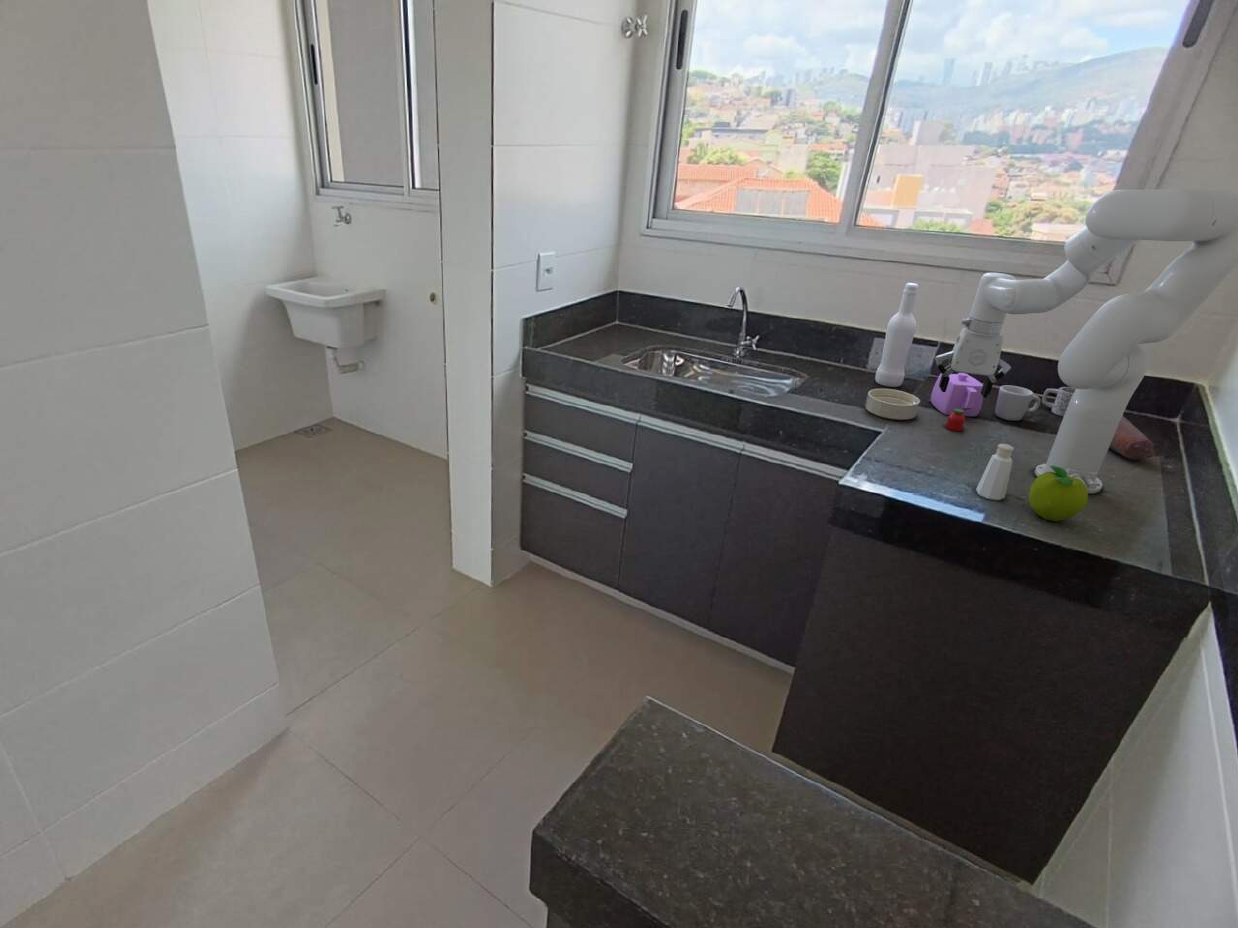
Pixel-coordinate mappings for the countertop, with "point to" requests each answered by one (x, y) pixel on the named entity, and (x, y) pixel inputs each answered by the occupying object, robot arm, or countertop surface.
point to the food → (1131, 442)
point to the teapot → (958, 395)
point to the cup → (1014, 402)
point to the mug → (1059, 399)
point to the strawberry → (956, 420)
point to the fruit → (1057, 495)
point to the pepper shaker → (996, 474)
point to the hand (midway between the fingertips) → (962, 393)
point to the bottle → (898, 341)
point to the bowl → (892, 404)
